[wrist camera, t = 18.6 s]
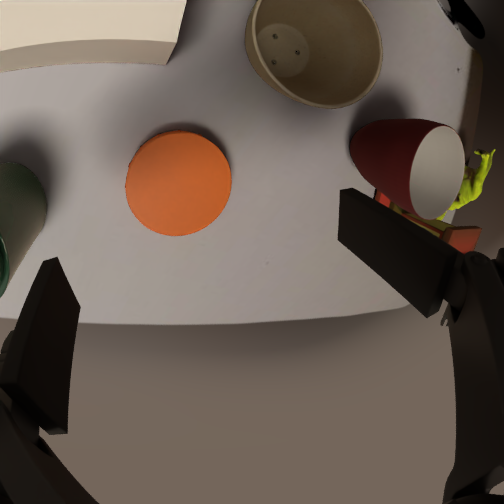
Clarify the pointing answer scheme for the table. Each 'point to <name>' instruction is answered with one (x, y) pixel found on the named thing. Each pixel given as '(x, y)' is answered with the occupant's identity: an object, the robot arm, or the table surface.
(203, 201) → the lid
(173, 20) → the hammer relief block
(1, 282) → the jar
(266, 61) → the flower pot
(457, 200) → the dinosaur figurine
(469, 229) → the light fixture
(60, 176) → the table surface
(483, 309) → the robot arm
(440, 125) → the mug
